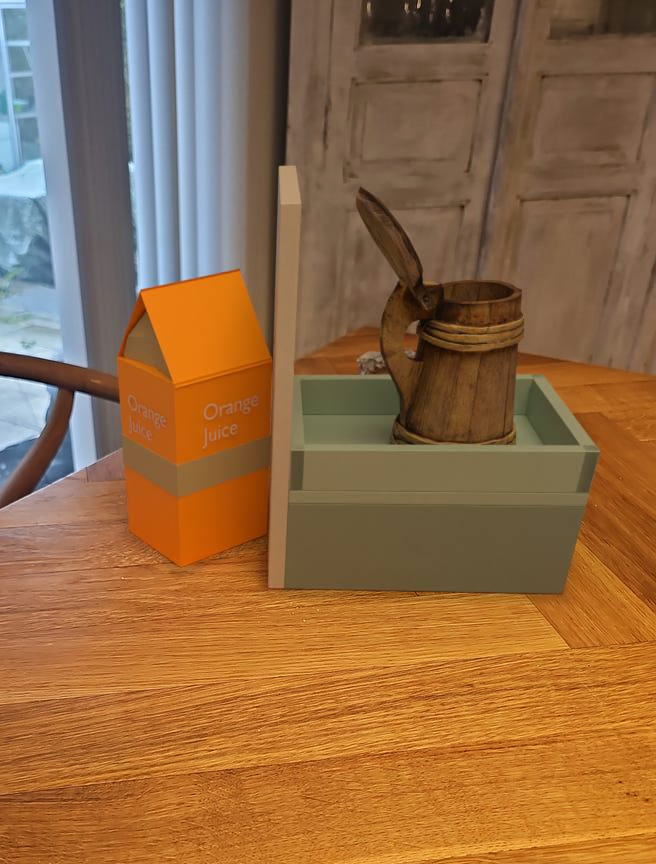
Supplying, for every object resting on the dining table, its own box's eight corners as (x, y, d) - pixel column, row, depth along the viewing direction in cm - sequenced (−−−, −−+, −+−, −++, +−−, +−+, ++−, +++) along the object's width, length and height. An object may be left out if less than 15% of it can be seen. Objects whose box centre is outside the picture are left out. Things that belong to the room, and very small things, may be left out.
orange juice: (268, 534, 72) (276, 277, 60) (180, 568, 68) (170, 301, 56) (212, 500, 77) (208, 259, 66) (127, 530, 73) (108, 279, 62)
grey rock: (366, 403, 95) (369, 366, 93) (352, 380, 101) (354, 344, 99) (464, 398, 95) (469, 361, 93) (444, 375, 101) (449, 339, 99)
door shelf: (516, 500, 75) (588, 158, 60) (563, 594, 63) (668, 195, 48) (268, 497, 77) (278, 165, 62) (268, 588, 65) (280, 203, 50)
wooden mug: (317, 435, 68) (333, 176, 58) (480, 418, 70) (525, 163, 59) (356, 484, 61) (383, 197, 50) (537, 463, 63) (599, 182, 52)
